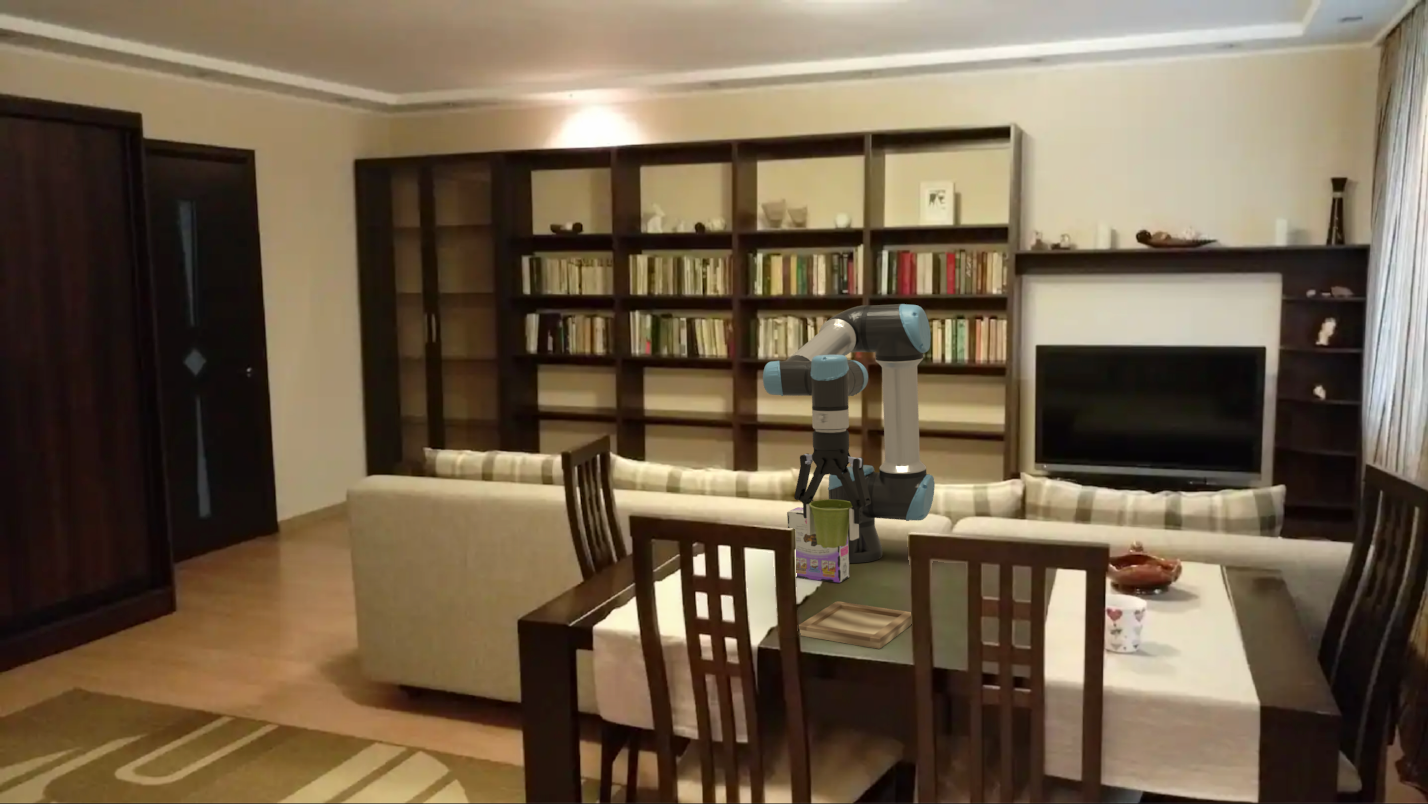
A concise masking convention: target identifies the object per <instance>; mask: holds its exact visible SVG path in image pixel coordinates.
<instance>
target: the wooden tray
mask: <svg viewBox="0 0 1428 804" xmlns="http://www.w3.org/2000/svg"><path fill="white" fill-rule="evenodd" d="M798 625H799V629H800V633H801V635H800V636H801V637H807V638H814V639H819V640H826V641H830V642H836V643H837V642H838V643H841V644H842V643H843V644H846V645H847V644H848V645H855V646H860V647H867V648H872V649H876V650H877V649H878V650H880V649H882V648H883V647H885V646H886V645H887V644H888V643H889V642H891V641H892V640H893V639H895V638H896V637H898V636H899V635H900V634H901V633H902V632H904V631H905V630H907V629H908V628H909V627H911V611H905V610H900V609H899V610H898V609H891V608H886V607H879V606H874V605H873V606H872V605H865V604H859V603H853V602H852V603H851V602H845V601H838V600H837V601H835V602H834V603H831V604H830V605H829V606H827V607H825V608H823V609H822V610H821V611H819V612H817V613H815V614H814V615H813V616H811V617H809V618H807V619H806V620H805V621H803V622H801V623H799V624H798Z"/></svg>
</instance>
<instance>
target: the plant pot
mask: <svg viewBox="0 0 1428 804" xmlns="http://www.w3.org/2000/svg"><path fill="white" fill-rule="evenodd" d="M809 506H810V507H811V509H812V513H813V517H814V524H815V531H816V539H817V544H818V545H821V546H822V547H826V548H827V547H829V548H836V547H838V546H845V545H846V542H847V536H848V529H849V509H850V508H852V507H853V506H852V504H851V502H850V501H845V500H834V499H833V500H832V499H829V498H828V499H817V500H813V501H811V503H810V504H809Z"/></svg>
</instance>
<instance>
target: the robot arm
mask: <svg viewBox="0 0 1428 804" xmlns="http://www.w3.org/2000/svg"><path fill="white" fill-rule="evenodd" d="M931 337H932V336H931V328H930V323H929V319H928V316H927V314H926V312H925V310H924V309H923V308H922V306H919V305H916V304H907V303H906V304H905V303H898V304H880V305H878V304H877V305H868V304H867V305H864V304H863V305H857V306H854V307H851V308H848V309H846V310H844V311H841V312H839V313H837V314H835V315H834V316H832V317H830V318H829V319H828V320H827V321H825V322H824V323H823V324H822V325H821V327H819V330H818V333H817V334H816V335H814V336H813V337H812V338H810V340H809V341H807V342H806V343H804V345H802V346H801V347H800V348H799V349H798V350H797V351H794V353H793V354H792V355H791V356H789V357H788V358H787V359H786V360H783V361H782V360H775V361H774V360H773V361H769V362H767V363H766V364H765V366H764V369H763V373H762V383H763V388H764V390H765V392H766V393H767V394H769V395H773V396H781V397H784V396H785V397H787V396H788V397H790V396H792V397H793V396H794V397H795V396H798V397H799V396H803V397H804V396H805V397H806V396H807V397H810V396H811V409H812V411H811V414H812V415H811V416H812V417H811V418H812V428H813V430H814V431H813V432H812V448H813V452H812V454H810V453H804V454H801V455H799V462H800V466H799V467H800V468H799V473H798V477H797V482H796V487H795V492H794V500H795V501H800V502H801V503H802V508H803V516H804V518H807V535H812V534H814V533H816V531H815V524H814V517H813V513H812V509H811V507H810V506H809V504H810V503H811V502H813V501H814V498H815V495H816V493H817V491H818V489H819V487H820V485H821V482H822V480H823V478H824V477H825V476H826V475H828V476H829V477H828V488H827V490H828V491H827V492H828V499H832V500H833V499H834V500H845V501H850V502H851V504H852V506H853V507H852V508H850V509H849V529H848V544H849V564H858V563H859V564H860V563H869V562H870V563H871V562H874V561H877V560H879V559H881V558H882V557H883V547H882V542H881V540H880V538H879V534H878V531H877V529H876V524H875V523H876V519H883V520H884V519H887V520H900V521H906V522H909V521H917V522H919V521H924V520H925V519H926V518H927V516H928V515H929V513H930V512H931V511H930V510H931V509H932V504H933V502H934V495H935V486H936V484H935V477H934V476H933V475H932V474H930V473H928V474H927V466H926V464H924V463H923V461H921V457H920V456H921V455H920V450H921V449H920V424H919V423H920V420H919V419H920V418H919V388H918V387H919V385H918V365H919V364H920V363H921V362H922V361H923V360H924V354H925V353H927V352H928V351H929V350H930V348H931ZM850 353H875V362H876V363H877V364H878V365H879V366H880V367H881V377H882V381H881V382H882V404H883V408H882V409H883V431H884V432H883V436H884V439H883V440H884V462H883V463H882V464H881V465H880V466H879V467H878V468H879V469H878V471H879V472H875V468H874V466H873V465H868V464H864V461H865V459H864V458H863V457H862V456H860V457H854V456H851V454H850V452H849V451H850V432H849V430H848V428H849V427H850V418H849V417H850V415H849V413H850V412H849V406H850V405H849V397H854V396H855V395H857V394H859V393H860V392H862V391H863V390H864V389H865V388H866V387H867V385H868V382H869V373H868V370H867V367H866V366H865V365H863V364H862V363H861V362H859V361H857V360H854V359H853V360H852V359H848V358H847V355H849V354H850ZM813 462H814V464H815V466H816V467H815V468H814V472H813V473H812V474H813V475H812V477H811V480H810V481H809V479H810V478H809V477H810V474H811V473H810V472H811V469H812V464H813ZM849 464H850V466H848V465H849ZM808 483H809V484H808Z"/></svg>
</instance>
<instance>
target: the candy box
mask: <svg viewBox="0 0 1428 804" xmlns="http://www.w3.org/2000/svg"><path fill="white" fill-rule="evenodd" d="M786 513H787V514H786V515H787V517H786V518H787V529H788V528H794V529H795V530H796V573H797V577H799V579H804V578H805V579H806V580H813V581H820V582H821V581H823V582H830V583H831V582H832V583H838V584H839V583H842V582H843V581H845V580H847V579H848V578H850V563H849V544H848V536H847V542H846V545H845V546H838V547H836V548H829V547H827V548H826V547H822V546H821V545H818V544H817V539H816V533H814V534H812V535H807V518H804V516H803V507H795V508H793V509H791V510H788V511H787V512H786Z"/></svg>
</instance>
